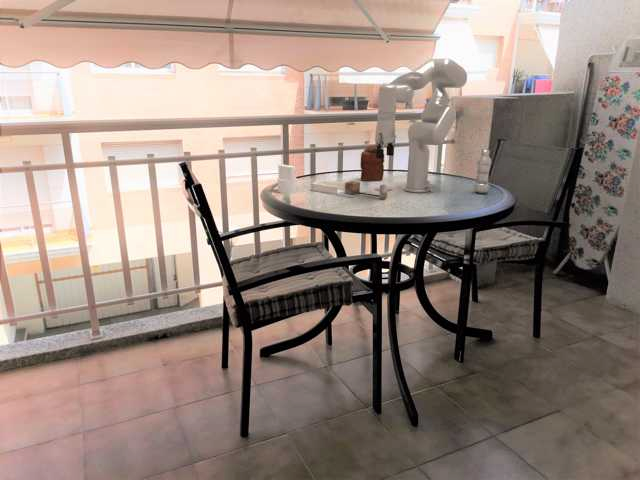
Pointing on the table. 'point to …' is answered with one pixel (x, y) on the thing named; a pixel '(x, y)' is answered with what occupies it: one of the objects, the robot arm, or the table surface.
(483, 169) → the plastic bottle
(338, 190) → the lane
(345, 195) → the mat
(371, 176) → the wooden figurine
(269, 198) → the table surface
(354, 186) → the rod with block end
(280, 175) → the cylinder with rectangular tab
